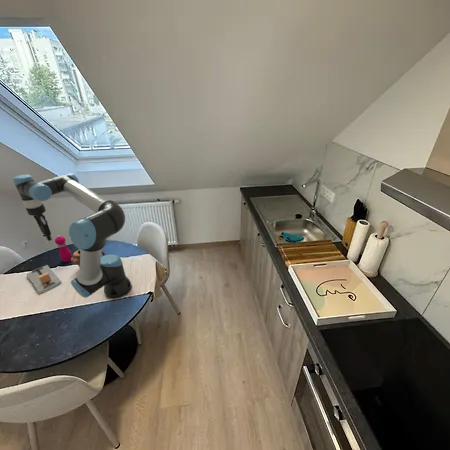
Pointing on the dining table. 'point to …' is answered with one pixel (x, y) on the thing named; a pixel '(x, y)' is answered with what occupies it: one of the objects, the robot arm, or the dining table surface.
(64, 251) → the pepper mill
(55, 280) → the grey slotted slider plate
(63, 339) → the dining table surface
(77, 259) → the brown mug
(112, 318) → the dining table surface
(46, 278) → the fader cap
